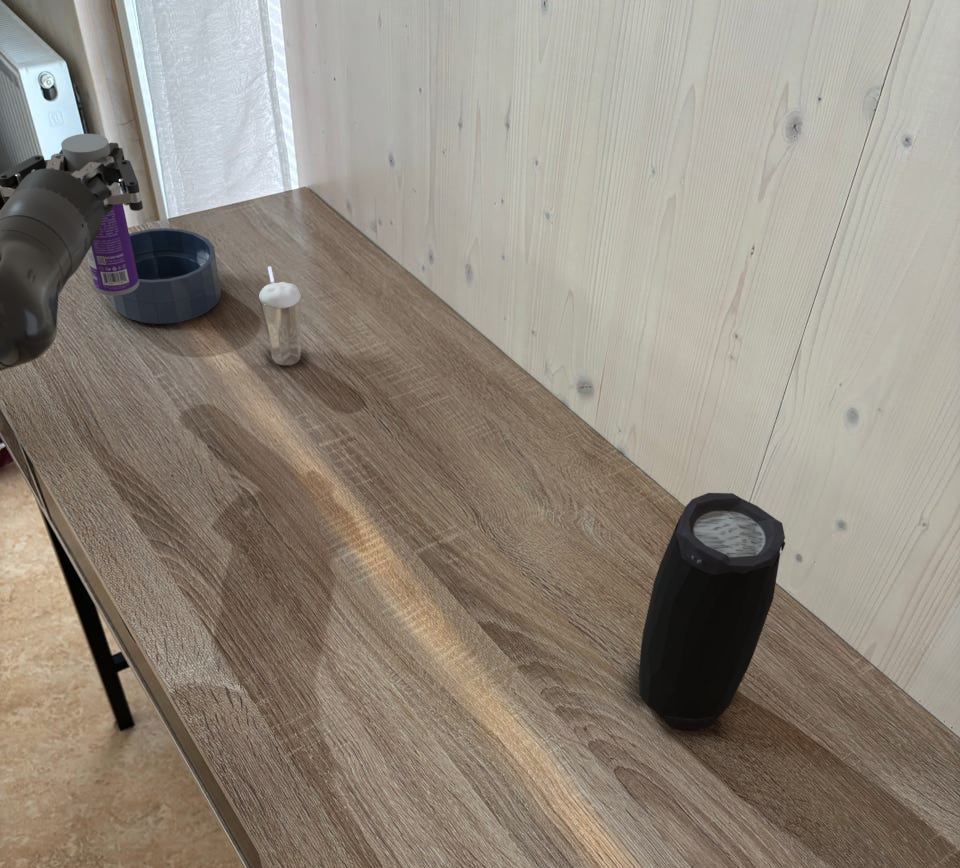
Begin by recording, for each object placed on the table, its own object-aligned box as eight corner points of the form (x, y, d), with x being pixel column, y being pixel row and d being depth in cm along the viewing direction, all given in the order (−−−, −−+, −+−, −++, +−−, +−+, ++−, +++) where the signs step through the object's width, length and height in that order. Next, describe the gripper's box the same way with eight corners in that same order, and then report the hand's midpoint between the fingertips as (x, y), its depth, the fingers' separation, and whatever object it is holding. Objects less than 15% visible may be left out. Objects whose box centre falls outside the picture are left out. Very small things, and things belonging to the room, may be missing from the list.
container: (147, 279, 114) (119, 138, 104) (124, 299, 111) (91, 156, 100) (110, 270, 115) (77, 129, 104) (85, 290, 112) (49, 147, 101)
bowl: (112, 332, 125) (101, 286, 120) (112, 277, 133) (102, 231, 129) (225, 323, 127) (218, 277, 123) (218, 269, 136) (211, 224, 131)
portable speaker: (754, 698, 91) (818, 528, 76) (684, 755, 86) (738, 587, 72) (678, 641, 95) (726, 471, 80) (608, 693, 90) (645, 522, 76)
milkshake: (296, 341, 125) (288, 262, 118) (311, 364, 122) (304, 285, 115) (259, 348, 124) (249, 269, 117) (274, 372, 121) (264, 293, 113)
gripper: (116, 193, 92) (160, 116, 103) (-47, 184, 91) (16, 108, 103) (133, 273, 97) (173, 191, 109) (-21, 266, 97) (37, 184, 109)
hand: (96, 151), depth 106 cm, fingers closed on container, 3 cm apart
